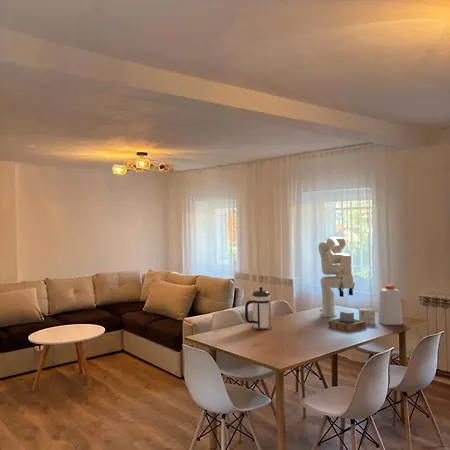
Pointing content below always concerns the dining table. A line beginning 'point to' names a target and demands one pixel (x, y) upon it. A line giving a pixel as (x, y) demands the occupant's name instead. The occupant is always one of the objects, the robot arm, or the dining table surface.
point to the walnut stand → (347, 325)
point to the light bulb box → (367, 316)
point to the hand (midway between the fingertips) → (346, 295)
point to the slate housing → (347, 316)
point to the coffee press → (260, 309)
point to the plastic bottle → (390, 306)
